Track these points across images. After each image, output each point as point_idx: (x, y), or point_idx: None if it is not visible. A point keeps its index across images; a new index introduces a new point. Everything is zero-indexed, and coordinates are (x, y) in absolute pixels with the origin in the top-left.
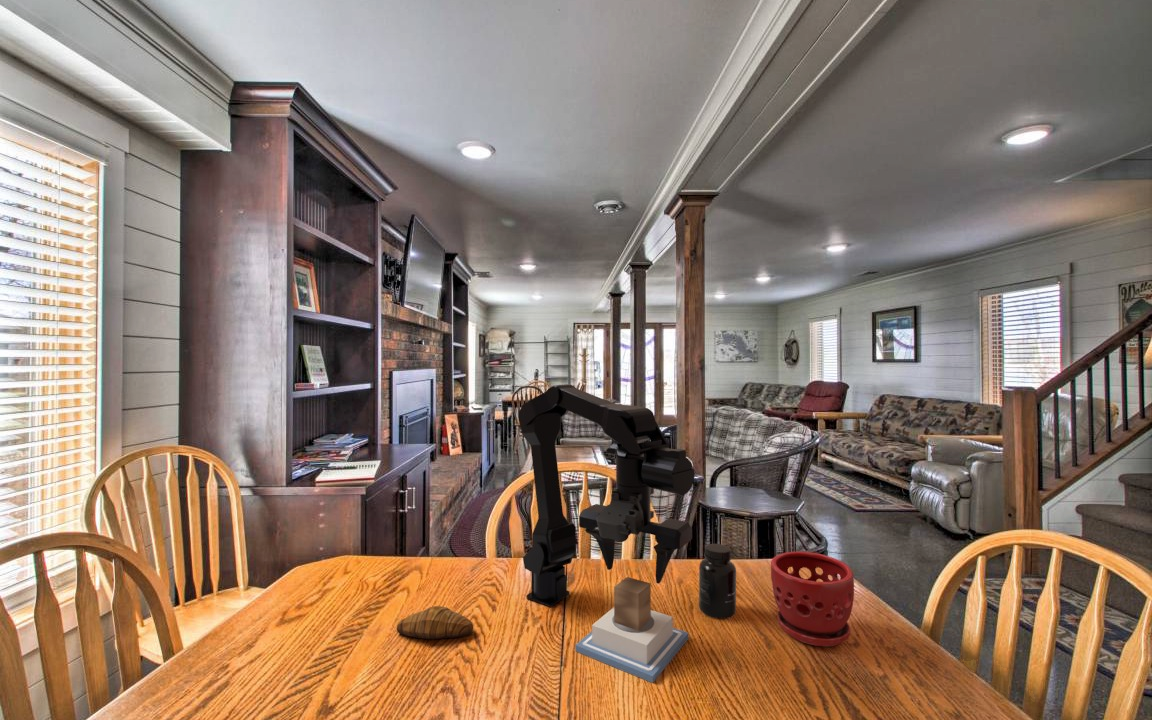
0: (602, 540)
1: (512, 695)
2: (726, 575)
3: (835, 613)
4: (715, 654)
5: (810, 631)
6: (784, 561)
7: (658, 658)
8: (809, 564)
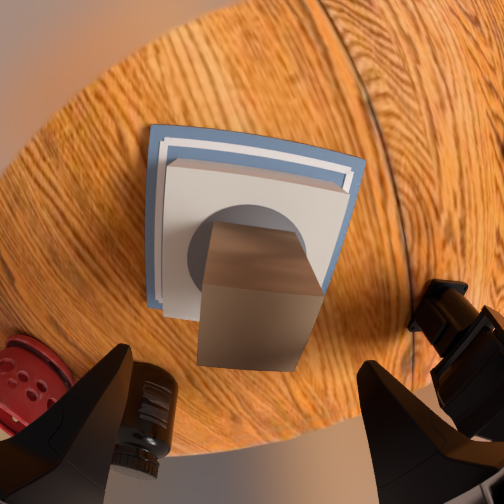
0: (448, 454)
1: (401, 6)
2: None
3: None
4: (92, 273)
5: (19, 347)
6: None
7: (161, 192)
8: None
